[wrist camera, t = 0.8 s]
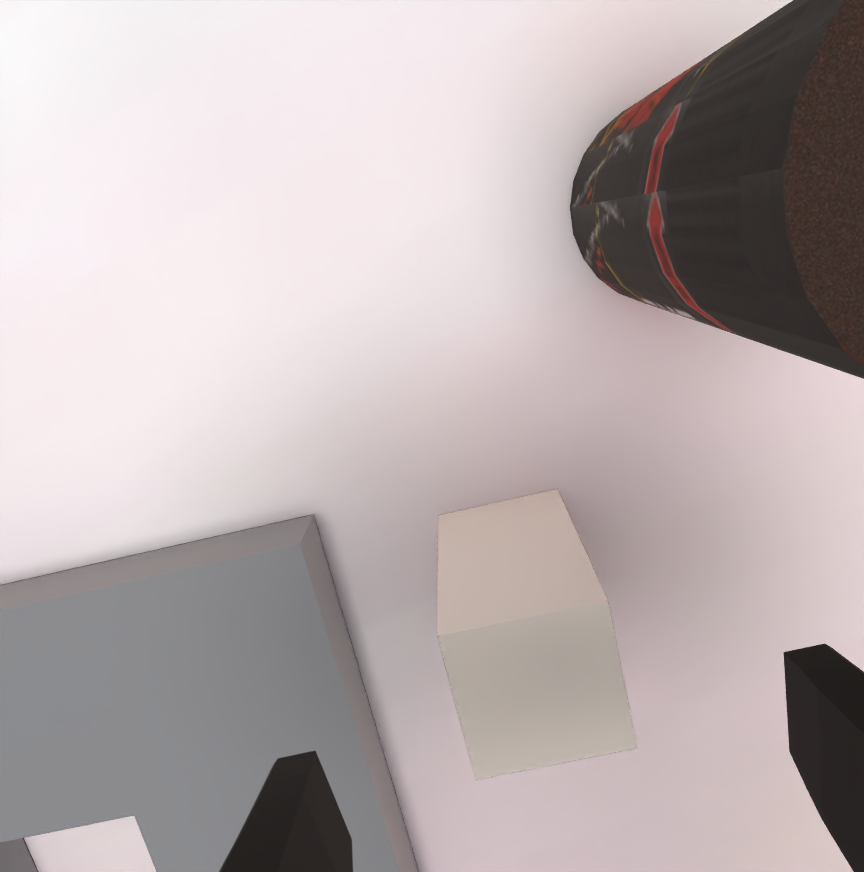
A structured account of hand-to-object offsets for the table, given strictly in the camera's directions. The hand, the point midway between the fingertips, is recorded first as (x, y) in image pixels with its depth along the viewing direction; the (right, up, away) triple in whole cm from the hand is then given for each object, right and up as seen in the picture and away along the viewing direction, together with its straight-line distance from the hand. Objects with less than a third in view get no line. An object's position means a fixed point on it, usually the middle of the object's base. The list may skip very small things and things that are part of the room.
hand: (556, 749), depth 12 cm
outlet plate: (-12, -7, +16) cm, 21 cm away
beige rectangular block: (+1, +1, +14) cm, 14 cm away
